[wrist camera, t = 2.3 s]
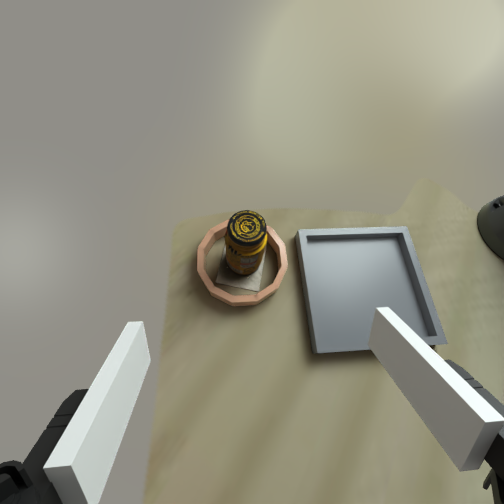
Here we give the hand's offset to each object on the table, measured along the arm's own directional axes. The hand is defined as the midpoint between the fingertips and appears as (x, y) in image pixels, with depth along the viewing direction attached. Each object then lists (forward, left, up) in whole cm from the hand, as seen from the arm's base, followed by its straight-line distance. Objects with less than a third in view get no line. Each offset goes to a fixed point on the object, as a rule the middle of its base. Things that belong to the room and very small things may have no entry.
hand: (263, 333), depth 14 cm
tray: (-20, -9, -25) cm, 34 cm away
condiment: (0, -14, -26) cm, 29 cm away
